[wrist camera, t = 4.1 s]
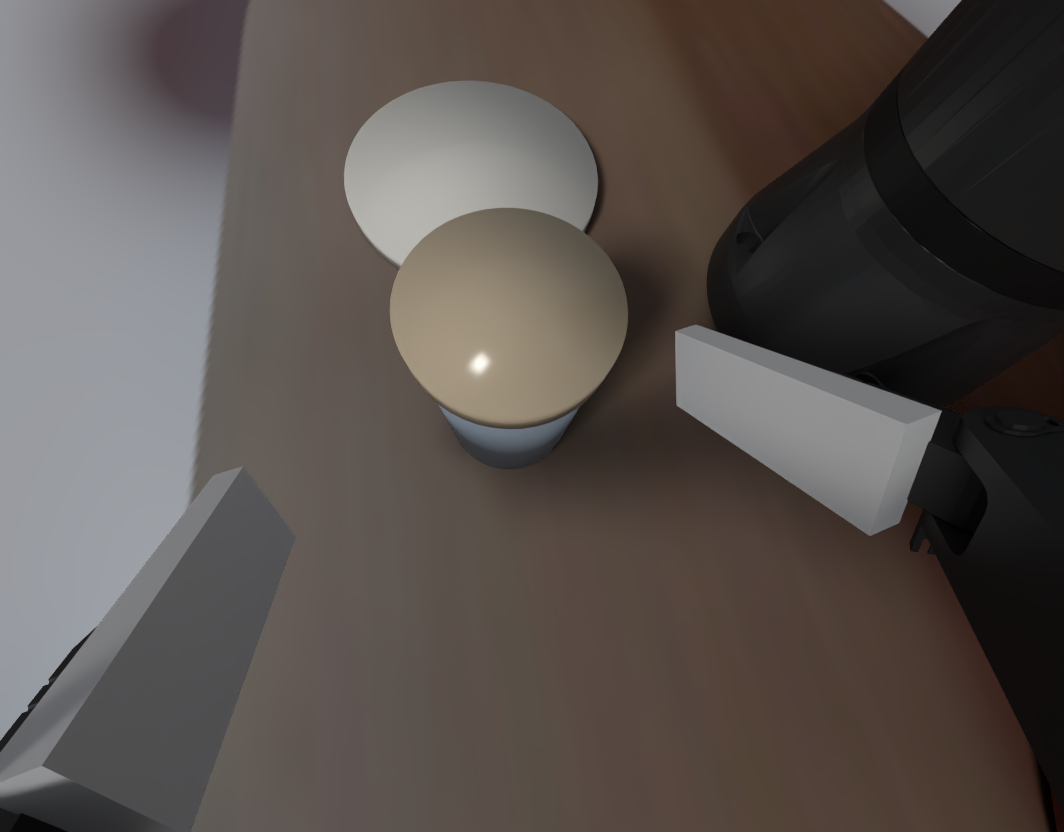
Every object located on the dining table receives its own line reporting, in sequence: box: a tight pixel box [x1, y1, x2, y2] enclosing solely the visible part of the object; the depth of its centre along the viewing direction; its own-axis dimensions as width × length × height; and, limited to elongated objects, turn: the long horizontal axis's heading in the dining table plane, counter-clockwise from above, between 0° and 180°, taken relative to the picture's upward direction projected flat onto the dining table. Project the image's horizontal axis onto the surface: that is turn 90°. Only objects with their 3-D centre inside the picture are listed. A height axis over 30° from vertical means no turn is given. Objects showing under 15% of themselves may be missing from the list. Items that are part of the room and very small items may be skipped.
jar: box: [390, 208, 628, 469], centre depth 15 cm, size 6×6×10 cm
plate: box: [344, 81, 598, 269], centre depth 23 cm, size 15×15×1 cm
